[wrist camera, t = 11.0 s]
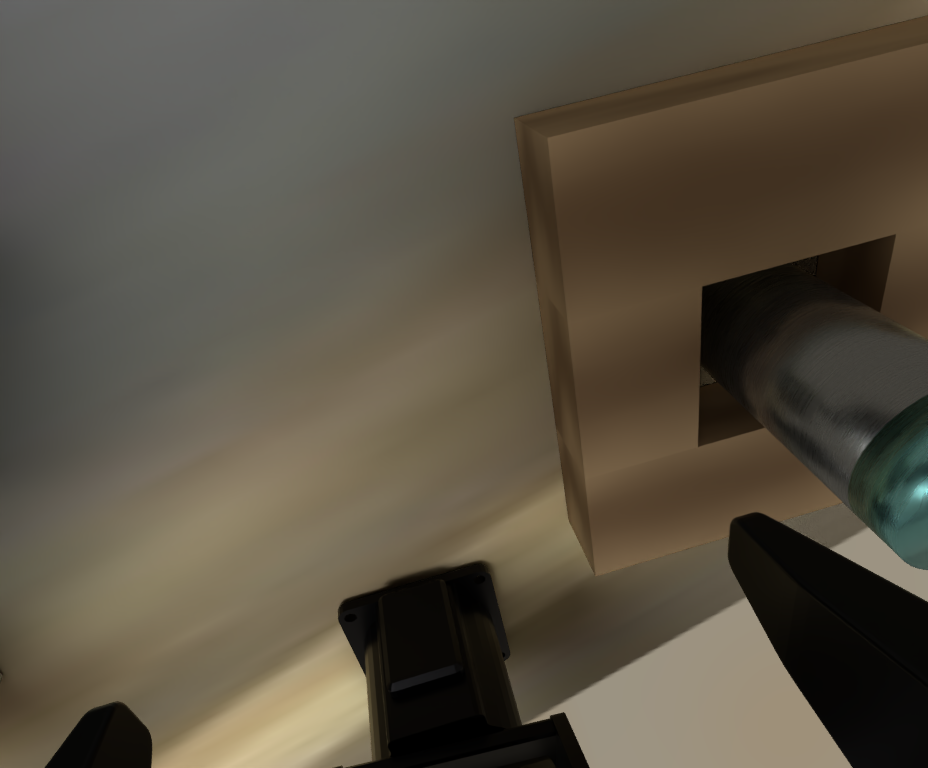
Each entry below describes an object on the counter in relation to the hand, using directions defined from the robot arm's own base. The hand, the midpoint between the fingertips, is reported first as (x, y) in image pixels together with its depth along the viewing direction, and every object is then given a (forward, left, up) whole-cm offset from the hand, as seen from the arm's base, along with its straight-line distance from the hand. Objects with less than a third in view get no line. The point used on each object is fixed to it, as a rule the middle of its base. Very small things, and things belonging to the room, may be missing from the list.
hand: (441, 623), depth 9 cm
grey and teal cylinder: (-4, -12, -12) cm, 17 cm away
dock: (-4, -12, -12) cm, 17 cm away
